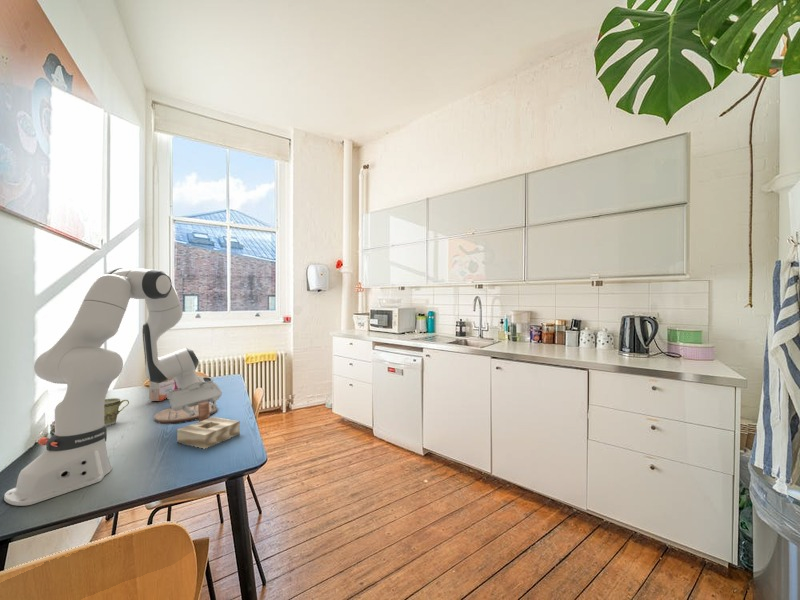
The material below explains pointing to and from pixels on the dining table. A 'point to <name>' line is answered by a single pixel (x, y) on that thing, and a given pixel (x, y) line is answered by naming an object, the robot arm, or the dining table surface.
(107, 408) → the ceramic cup
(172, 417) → the trivet
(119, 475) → the dining table surface
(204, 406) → the peg
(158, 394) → the cracker box
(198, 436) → the socket block
